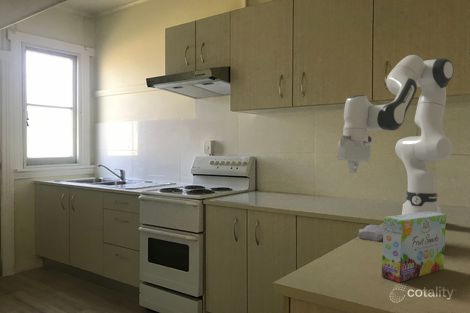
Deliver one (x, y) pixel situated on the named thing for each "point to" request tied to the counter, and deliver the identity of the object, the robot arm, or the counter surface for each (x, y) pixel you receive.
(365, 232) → the stone block
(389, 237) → the snack box
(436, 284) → the counter surface
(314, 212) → the counter surface
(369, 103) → the robot arm
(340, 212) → the counter surface
